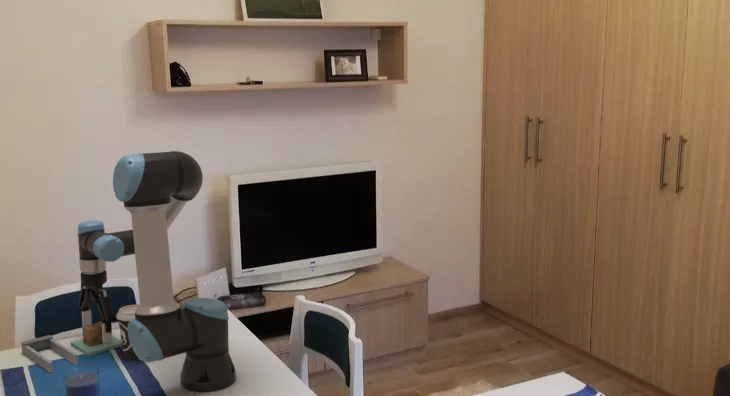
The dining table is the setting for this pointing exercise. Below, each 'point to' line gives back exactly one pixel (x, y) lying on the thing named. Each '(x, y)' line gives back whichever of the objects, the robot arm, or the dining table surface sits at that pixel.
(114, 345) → the teal coaster
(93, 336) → the walnut block
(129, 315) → the coffee cup
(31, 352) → the grey channel
